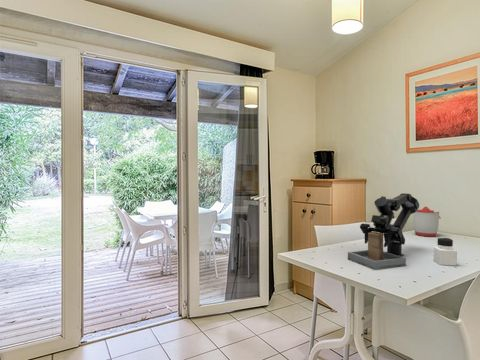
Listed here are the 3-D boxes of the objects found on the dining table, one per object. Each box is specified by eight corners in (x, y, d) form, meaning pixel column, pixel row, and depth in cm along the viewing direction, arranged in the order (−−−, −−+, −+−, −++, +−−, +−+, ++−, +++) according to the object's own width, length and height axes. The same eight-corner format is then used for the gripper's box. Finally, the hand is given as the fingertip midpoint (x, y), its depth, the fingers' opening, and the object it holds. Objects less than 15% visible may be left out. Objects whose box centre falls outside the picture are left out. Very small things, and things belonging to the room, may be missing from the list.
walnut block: (372, 258, 151) (373, 231, 151) (383, 260, 147) (383, 233, 147) (367, 259, 148) (368, 233, 147) (378, 262, 144) (378, 234, 144)
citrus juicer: (446, 237, 204) (447, 207, 204) (420, 237, 205) (421, 207, 204) (432, 233, 220) (432, 205, 219) (408, 233, 220) (408, 205, 220)
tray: (376, 255, 159) (376, 249, 159) (405, 265, 142) (405, 258, 142) (347, 259, 153) (347, 252, 153) (374, 269, 136) (374, 261, 136)
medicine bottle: (456, 266, 142) (457, 240, 141) (439, 265, 143) (440, 239, 143) (449, 261, 149) (449, 237, 148) (433, 260, 150) (433, 236, 150)
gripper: (361, 207, 156) (350, 231, 149) (400, 210, 142) (389, 237, 135) (368, 221, 162) (358, 245, 155) (406, 225, 148) (396, 252, 141)
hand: (374, 244), depth 146 cm, fingers open, 9 cm apart
